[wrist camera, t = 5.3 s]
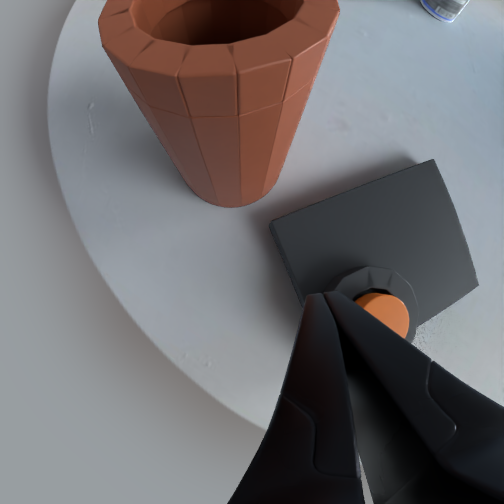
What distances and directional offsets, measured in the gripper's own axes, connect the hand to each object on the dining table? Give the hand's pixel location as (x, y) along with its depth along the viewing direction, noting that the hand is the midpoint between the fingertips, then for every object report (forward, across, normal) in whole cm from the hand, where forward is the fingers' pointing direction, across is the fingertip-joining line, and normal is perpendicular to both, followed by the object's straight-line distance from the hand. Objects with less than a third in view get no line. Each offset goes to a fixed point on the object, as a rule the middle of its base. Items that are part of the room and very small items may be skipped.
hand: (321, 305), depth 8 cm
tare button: (+6, -4, +7) cm, 10 cm away
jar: (+14, +2, -1) cm, 15 cm away
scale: (+11, -7, +6) cm, 14 cm away
